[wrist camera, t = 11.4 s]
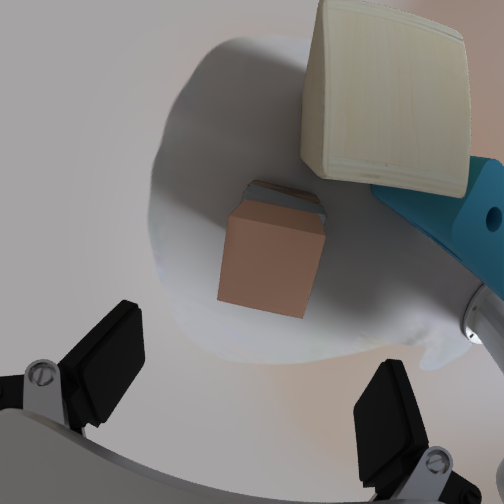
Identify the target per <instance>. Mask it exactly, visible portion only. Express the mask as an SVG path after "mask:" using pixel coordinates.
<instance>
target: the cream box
mask: <svg viewBox="0 0 504 504" xmlns="http://www.w3.org/2000/svg"><path fill="white" fill-rule="evenodd" d="M470 142H471V104H470V85H469V74H468V65H467V57H466V51H465V45H464V41H463V38H462V36H461V34H460V33H459V32H457V31H456V30H454V29H451V28H449V27H447V26H445V25H442V24H440V23H437V22H434V21H432V20H429V19H426V18H423V17H420V16H417V15H414V14H411V13H408V12H404V11H401V10H398V9H394V8H391V7H387V6H382V5H378V4H374V3H369V2H365V1H359V0H320V1H319V4H318V8H317V14H316V21H315V27H314V32H313V38H312V43H311V48H310V54H309V60H308V65H307V70H306V75H305V81H304V86H303V92H302V122H301V151H300V159H301V160H302V161H304V162H305V163H306V164H307V165H308V166H309V167H310V168H311V169H312V170H313V172H315V173H316V175H317V176H319V177H321V178H322V179H332V180H342V181H351V182H360V183H368V184H376V185H383V186H390V187H397V188H404V189H410V190H416V191H422V192H428V193H433V194H439V195H445V196H450V197H456V198H462V197H464V196H465V193H466V188H467V183H468V174H469V162H470V144H471V143H470Z"/></svg>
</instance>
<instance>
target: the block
mask: <svg viewBox="0 0 504 504" xmlns="http://www.w3.org/2000/svg"><path fill="white" fill-rule="evenodd" d="M371 191H372V194H373V195H374V196H375V197H376V198H378V199H379V200H381V201H382V202H383V203H385V204H386V205H387V206H389V207H390V208H391V209H393V210H394V211H395V212H397V213H398V214H399V215H401V216H402V217H403V218H405V219H406V220H407V221H408V222H410V223H411V224H412V225H413V226H415V227H416V228H417V229H419V230H420V231H421V232H423V233H424V234H425V235H427V236H428V237H429V238H431V239H432V240H433V241H434V242H436V243H437V244H438V245H439V246H441V247H442V248H443V249H444V250H446V251H447V252H448V253H449V254H451V255H452V256H453V257H454V258H455V259H457V260H458V261H459V262H460V263H461V264H463V265H464V266H465V267H466V268H467V269H469V270H470V271H471V272H472V273H473V274H474V275H475V276H477V277H478V278H479V279H480V280H481V281H482V282H483V283H484V284H486V285H487V286H488V287H489V288H490V289H491V290H492V291H493V292H494V293H495V294H496V295H497V296H498V297H499V298H500V299H502V300H503V301H504V166H503V165H502V164H501V163H500V162H499V161H498V160H496V159H490V158H483V157H476V156H470V162H469V174H468V183H467V188H466V193H465V196H464V197H462V198H456V197H450V196H445V195H439V194H433V193H428V192H422V191H416V190H410V189H404V188H397V187H390V186H383V185H376V184H372V186H371Z"/></svg>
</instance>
